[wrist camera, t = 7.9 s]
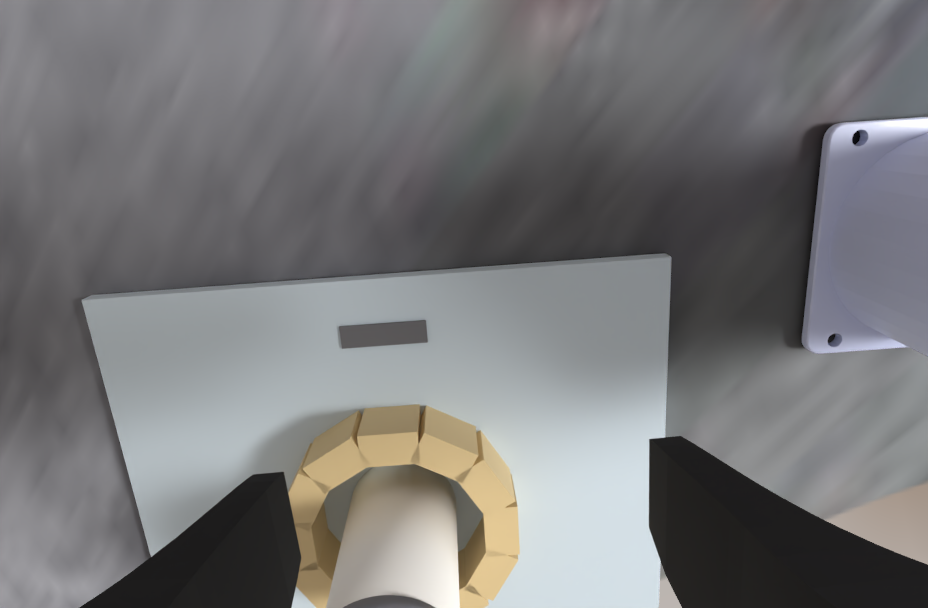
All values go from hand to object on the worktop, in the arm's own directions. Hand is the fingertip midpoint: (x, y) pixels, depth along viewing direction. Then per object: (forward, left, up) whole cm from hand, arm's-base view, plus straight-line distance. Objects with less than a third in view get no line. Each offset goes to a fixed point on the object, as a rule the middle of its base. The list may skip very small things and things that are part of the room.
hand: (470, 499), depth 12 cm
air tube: (+3, +7, -10) cm, 12 cm away
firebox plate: (+3, +7, -10) cm, 13 cm away
